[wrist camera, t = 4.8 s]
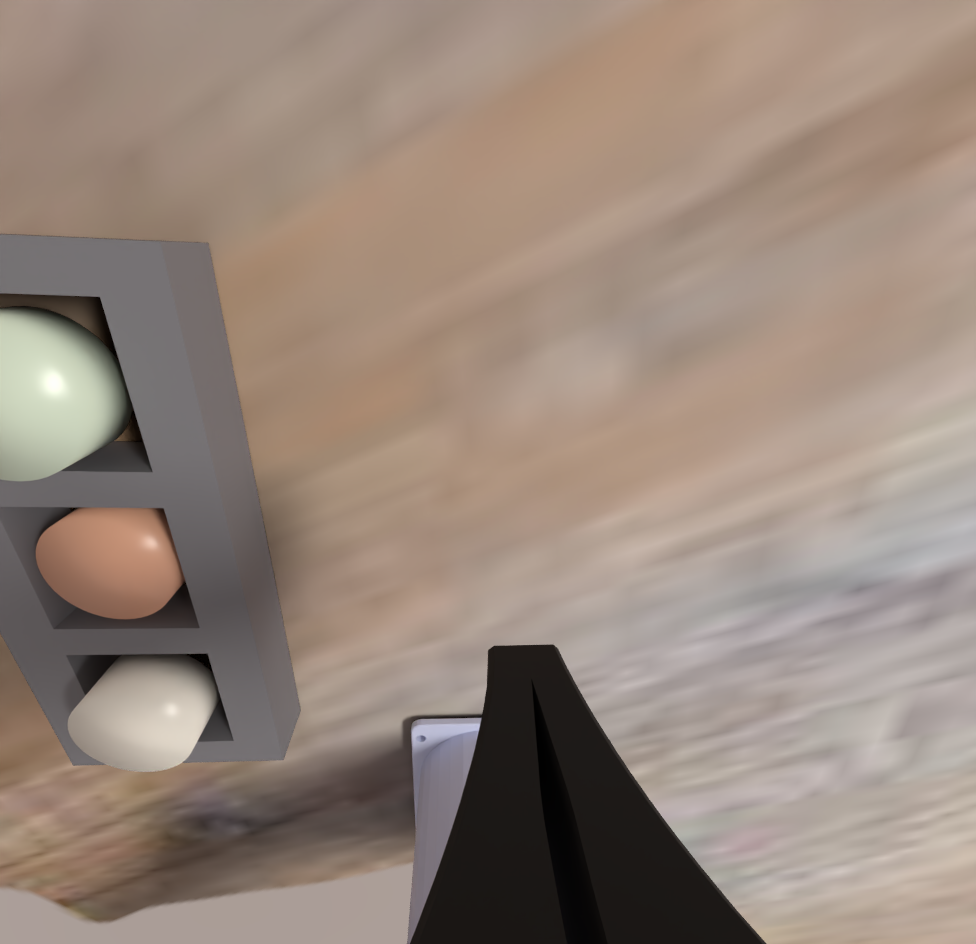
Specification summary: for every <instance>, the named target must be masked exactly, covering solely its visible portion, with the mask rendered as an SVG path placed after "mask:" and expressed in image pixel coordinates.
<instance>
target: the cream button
mask: <svg viewBox="0 0 976 944" xmlns="http://www.w3.org/2000/svg"><path fill="white" fill-rule="evenodd" d="M219 699H220V693H219V690H218V687H217V683H216V680H215V677H214V675H213V673H212V672H211V671H210V670H209V669H208V668H207V667H206V666H204V665H203V664H202V663H201V662H199V661H197V660H196V659H194V658H192V657H190V656H188V655H185V654H127V655H122V656H120V657H119V658H117V659H116V660H115V661H114V662H113V664H112V665H111V666H110V667H109V668H108V670H107V671H106V672H105V673H104V674H103V676H102V677H101V678H100V679H99V680H98V681H97V683H96V684H95V685H94V686H93V687H92V689H91V690H90V691H89V692H88V693H87V694H86V696H85V697H84V698H83V699H82V700H81V702H80V703H79V704H78V705H77V706H76V707H75V709H74V710H73V711H72V712H71V714H70V716H69V719H68V731H69V734H70V736H71V738H72V740H73V741H74V743H75V744H76V745H77V746H78V747H79V748H80V749H81V750H82V751H83V752H85V753H86V754H87V755H89V756H90V757H92V758H94V759H96V760H98V761H100V762H102V763H104V764H107V765H109V766H112V767H115V768H119V769H124V770H129V771H138V772H153V771H161V770H165V769H169V768H172V767H175V766H177V765H179V764H180V763H182V762H183V761H185V760H186V759H187V758H188V757H189V755H190V754H191V752H192V750H193V748H194V747H195V745H196V743H197V741H198V739H199V737H200V735H201V734H202V732H203V730H204V728H205V726H206V724H207V722H208V721H209V719H210V717H211V715H212V713H213V711H214V709H215V708H216V706H217V704H218V702H219Z"/></svg>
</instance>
